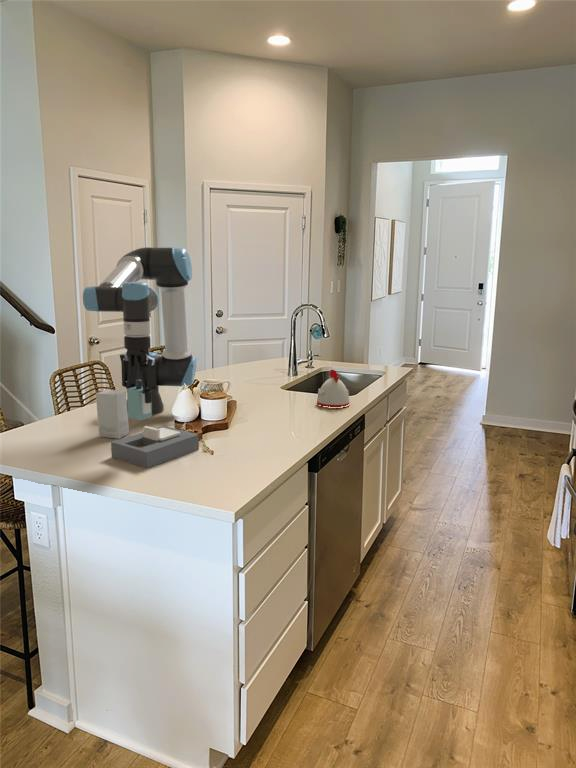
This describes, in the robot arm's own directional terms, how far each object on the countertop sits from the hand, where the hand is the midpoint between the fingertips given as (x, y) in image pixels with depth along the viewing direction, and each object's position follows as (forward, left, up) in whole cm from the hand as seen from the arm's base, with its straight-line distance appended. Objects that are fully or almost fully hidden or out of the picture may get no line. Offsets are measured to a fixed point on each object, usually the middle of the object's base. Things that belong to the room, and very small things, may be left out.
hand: (139, 411), depth 177 cm
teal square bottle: (0, 0, -2) cm, 2 cm away
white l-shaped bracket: (0, +8, -10) cm, 13 cm away
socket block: (0, +6, -15) cm, 16 cm away
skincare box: (-26, +10, -15) cm, 31 cm away
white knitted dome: (+13, +96, -15) cm, 98 cm away
